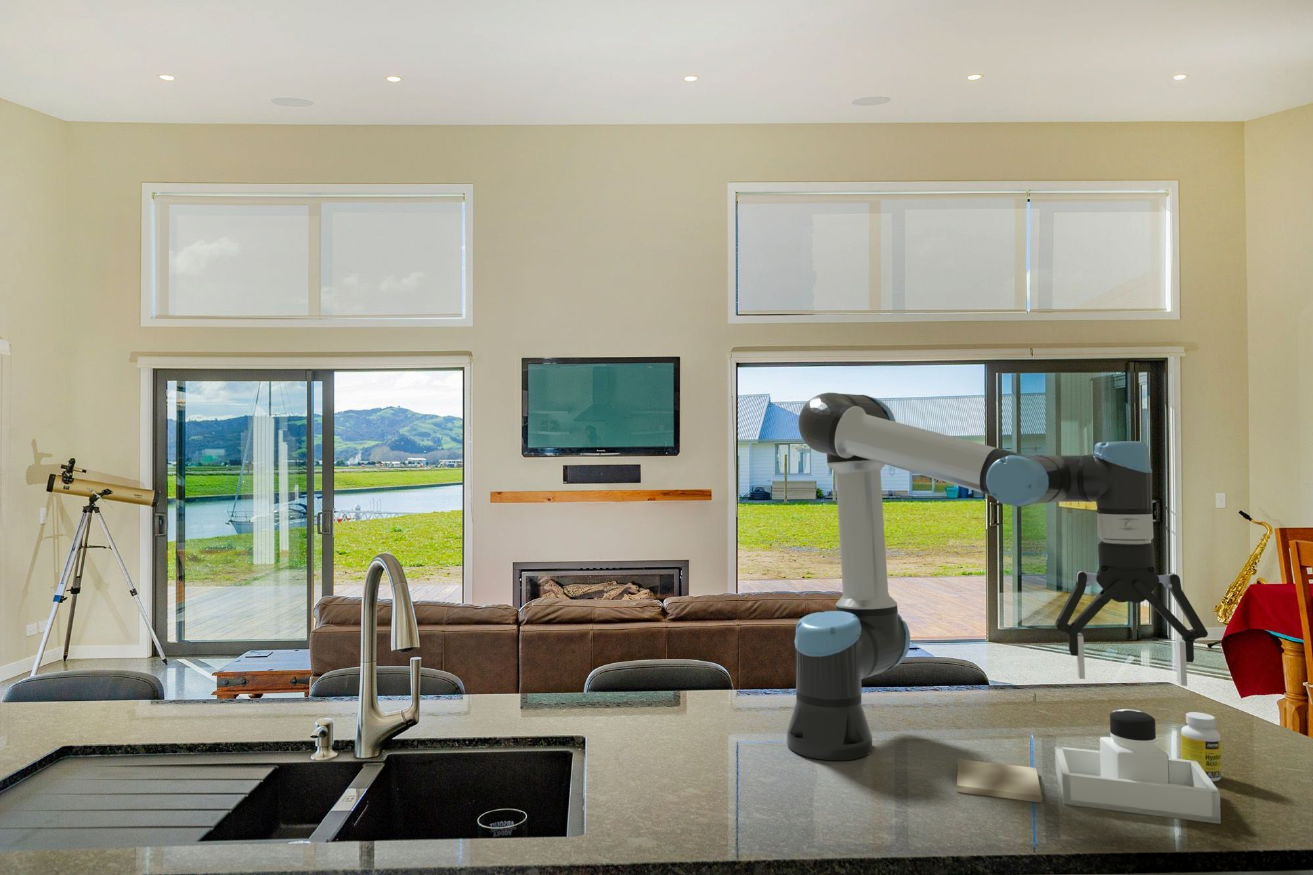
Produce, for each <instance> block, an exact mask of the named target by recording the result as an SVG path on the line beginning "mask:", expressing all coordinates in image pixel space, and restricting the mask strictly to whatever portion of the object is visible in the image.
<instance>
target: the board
mask: <svg viewBox="0 0 1313 875" xmlns="http://www.w3.org/2000/svg"><path fill="white" fill-rule="evenodd" d="M957 761H958V762H957V778H956V779H957V780H956V792H957V793H963V794H971V795H979V796H988V797H994V798H1003V799H1009V800H1010V799H1011V800H1019V801H1026V802H1033V803H1034V802H1035V803H1042V802H1043V800H1042V799H1043V797H1042V790H1041V787H1040V786H1041V785H1040V782H1039V776H1038V771H1037V768H1036V767H1031V766H1023V765H1022V766H1021V765H1013V764H1003V763H994V762H986V761H985V762H984V761H978V760H968V759H959V758H958V759H957Z"/></svg>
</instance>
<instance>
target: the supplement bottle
mask: <svg viewBox="0 0 1313 875" xmlns="http://www.w3.org/2000/svg"><path fill="white" fill-rule="evenodd" d="M1185 721H1186V722H1185V723H1186V724H1187V725H1184V726H1183V727H1182V728H1181V730H1180V743H1181V744H1180V755H1181V758H1180V759H1183V760H1192V761H1197V762H1198V764H1199V765H1200V766H1201V768H1202V769H1203V770H1204V772H1205V773H1206V774H1207V776H1208V777H1209V778H1210V780H1211V781H1212V782H1213V783H1214V782H1218V781H1220V780H1221V779H1222V752H1221V751H1222V750H1221V749H1222V747H1221V746H1222V745H1221V744H1222V742H1221V740H1222V739H1221V734H1220V733H1219V731H1217V730H1216V729H1214V728H1216V717H1215V716H1214V715H1211V714H1208V713H1205V712H1195V711H1189V712H1187V713H1186V714H1185Z"/></svg>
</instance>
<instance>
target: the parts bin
mask: <svg viewBox="0 0 1313 875" xmlns="http://www.w3.org/2000/svg"><path fill="white" fill-rule="evenodd" d="M1168 760H1169V784H1163V783H1155V782H1146V781H1137V780H1128V779H1119V778H1111V777H1102V776H1101V767H1100V750H1097V749H1096V750H1093V749H1086V748H1077V747H1075V748H1074V747H1066V746H1057V745H1055V746H1054V766H1055V767H1054V770H1055V772H1054V773H1055V777H1056V780H1057V784H1058V788H1059V792H1060V795H1061V799H1062V803H1063V805H1067V806H1068V805H1069V806H1076V807H1083V808H1084V807H1085V808H1093V809H1100V810H1107V811H1108V810H1109V811H1117V812H1123V813H1133V814H1140V815H1146V816H1147V815H1148V816H1155V817H1156V816H1157V817H1163V818H1171V819H1180V820H1188V821H1195V822H1204V823H1211V824H1218V825H1221V824H1222V822H1221V819H1222V818H1221V793H1220V792H1221V791H1220V790H1219V789H1218V788H1217V787H1216V785H1215V784H1214V782H1212V781H1211V780H1210V778H1209V777H1208V776H1207V774H1206V773H1205V772H1204V770H1203V769H1202V768H1201V766H1200V765H1199V764H1198V762H1197V761H1192V760H1183V759H1181V758H1173V757H1168Z"/></svg>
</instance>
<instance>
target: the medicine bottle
mask: <svg viewBox="0 0 1313 875" xmlns="http://www.w3.org/2000/svg"><path fill="white" fill-rule="evenodd" d="M1109 728H1110V732H1109V734H1110V735H1109V736H1110V737H1109V736H1101V737H1100V738H1099V751H1100V767H1101V776H1102V777H1111V778H1119V779H1128V780H1137V781H1146V782H1155V783H1163V784H1169V760H1168V758H1169V753H1167V752H1165V750H1163V749H1162V748H1160V747H1159V746H1158V745H1156V743H1157V739H1156V738H1157V736H1156V735H1157V734H1156V730H1157V729H1156V720H1155V718H1154V717H1153V716H1152V715H1150V714H1148V713H1147V712H1144V711H1141V710H1138V709H1137V710H1136V709H1129V708H1127V709H1125V708H1124V709H1123V708H1122V709H1116V710H1113V711H1112V712H1110V714H1109Z"/></svg>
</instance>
